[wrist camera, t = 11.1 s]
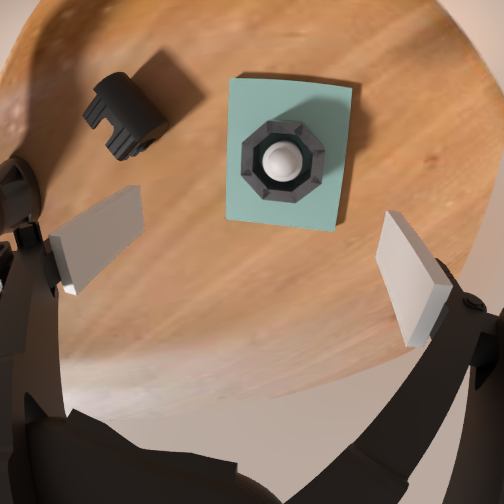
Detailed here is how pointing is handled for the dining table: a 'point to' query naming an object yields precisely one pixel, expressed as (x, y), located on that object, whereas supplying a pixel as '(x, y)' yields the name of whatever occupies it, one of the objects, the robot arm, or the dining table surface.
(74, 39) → the dining table surface
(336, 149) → the post stand
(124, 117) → the end cap
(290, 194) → the collar
